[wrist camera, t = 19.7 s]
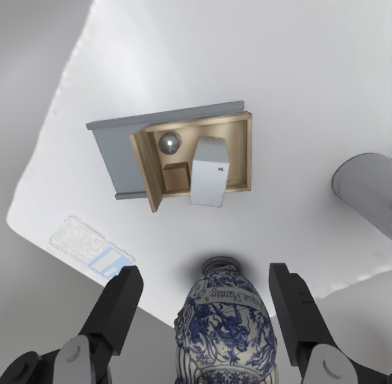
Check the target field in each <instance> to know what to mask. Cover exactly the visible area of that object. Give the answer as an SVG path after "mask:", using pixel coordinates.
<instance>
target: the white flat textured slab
mask: <svg viewBox="0 0 392 384" xmlns="http://www.w3.org/2000/svg"><path fill="white" fill-rule="evenodd" d="M68 220H69V221H68ZM58 231H59V232H58ZM81 231H82V232H81ZM48 243H49V244H51V245H52V246H54V247H55V248H57V249H58V250H60V251H62V252H63V253H65V254H67V255H68V256H70V257H71V258H73V259H75V260H76V261H78V262H80V263H81V264H83V265H84V266H86V267H88V268H89V269H91V270H93V271H94V272H96V273H97V274H99V275H101V276H102V277H104V278H106V279H112V278H113V277H114V276H115V275H118V274H119V272H120V270H121V268H122V267H123V266H131V265H132V264H133V263H134V261H135V258H134V257H133V256H132V255H130V254H129V253H127V252H126V251H125V250H123V249H122V248H120V247H119V246H117V245H116V244H115V243H113V242H112V241H110V240H109V239H107V238H106V237H105V236H103V235H102V234H100V233H99V232H97V231H96V230H95V229H93V228H92V227H90V226H89V225H88V224H86V223H85V222H83V221H82V220H80V219H79V218H77V217H76V216H74V215H72V216H70V217H68V218H67V219H66V220H65V222H64V223H63V224H62V225H61V226H60V227H59V228H58V229H57V230H56V232H55V233H54V234H53V235H52V236H51V237H50V238H49V240H48ZM80 251H81V252H80Z"/></svg>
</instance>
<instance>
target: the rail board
mask: <svg viewBox="0 0 392 384" xmlns="http://www.w3.org/2000/svg"><path fill="white" fill-rule="evenodd" d="M243 109H244V101H236V102H229V103H222V104H215V105H208V106H201V107H194V108H187V109H180V110H173V111H166V112H159V113H152V114H146V115H139V116H132V117H125V118H118V119H111V120H104V121H97V122H91V123H87V124H86V126H87V129H88V130H92V132H93V134H94V137H95V139H96V142H97V144H98V147H99V149H100V152H101V154H102V157H103V159H104V162H105V164H106V167H107V170H108V172H109V175H110V177H111V180H112V182H113V185H114V187H115V190H116V192H117V194H116V195H115V198H116V200H120V199H133V198H146V197H148V196H147V193H146V190H145V187H144V183H143V180H142V177H141V174H140V170H139V167H138V164H137V160H136V157H135V154H134V151H133V147H132V144H131V141H130V137H129V135H130V134H132V133H134V132H136V131H138V130H140V129H142V128H144V127H145V126H147V125H149V124H156V123H163V122H171V121H178V120H185V119H193V118H200V117H208V116H215V115H222V114H230V113H237V112H243Z"/></svg>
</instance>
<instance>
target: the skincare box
mask: <svg viewBox="0 0 392 384" xmlns="http://www.w3.org/2000/svg"><path fill="white" fill-rule="evenodd" d="M229 166H230V161H229V157H228V152H227V147H226V142H225V138H220V137H210V136H202V135H201V136H200V137H199V141H198V144H197V148H196V151H195V154H194V158H193V163H192V172H191V189H190V204H198V205H206V206H213V207H221V206H222V201H223V196H224V192H225V188H226V182H227V177H228V172H229Z"/></svg>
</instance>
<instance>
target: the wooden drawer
mask: <svg viewBox="0 0 392 384" xmlns="http://www.w3.org/2000/svg"><path fill="white" fill-rule="evenodd" d="M169 131H175V132H177V133H178V134H179V135H180V137H181V139H182V143H181V146H180V147H179V149H178V150H177V152H176V153H175V154H173V155H166V154H164V153H163V152H161V150H160V149H159V146H158V142H159V139H160V138H161V137H162V136H163V135H164V134H166V133H167V132H169ZM201 135H202V136H210V137H220V138H225V142H226V147H227V152H228V157H229V161H230V166H229V172H228V177H227V182H226V188H225V192H224V193H229V192H242V191H251V157H252V114H251V113H249V112H248V111H245V112H237V113H230V114H222V115H215V116H208V117H200V118H193V119H185V120H178V121H171V122H163V123H156V124H149V125H147V126H145V127H144V128H142V129H140V130H138V131H136V132H134V133H132V134H130V135H129V137H130V141H131V144H132V147H133V151H134V154H135V157H136V160H137V164H138V167H139V170H140V174H141V177H142V180H143V183H144V187H145V190H146V193H147V196H148V200H149V203H150V206H151V210H152V212H156V211H157V209H158V207H159V205H160V203H161V201H162V198H164V197H177V196H190V189H191V183H190V187H189V189H185V190H173V191H167V189H166V184H165V180H164V176H163V172H162V170H163V168H164V167H165V165H166V164H171V163H181V162H188V167H189V173H190V180H191V172H192V163H193V158H194V154H195V151H196V148H197V144H198V141H199V137H200V136H201Z"/></svg>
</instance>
